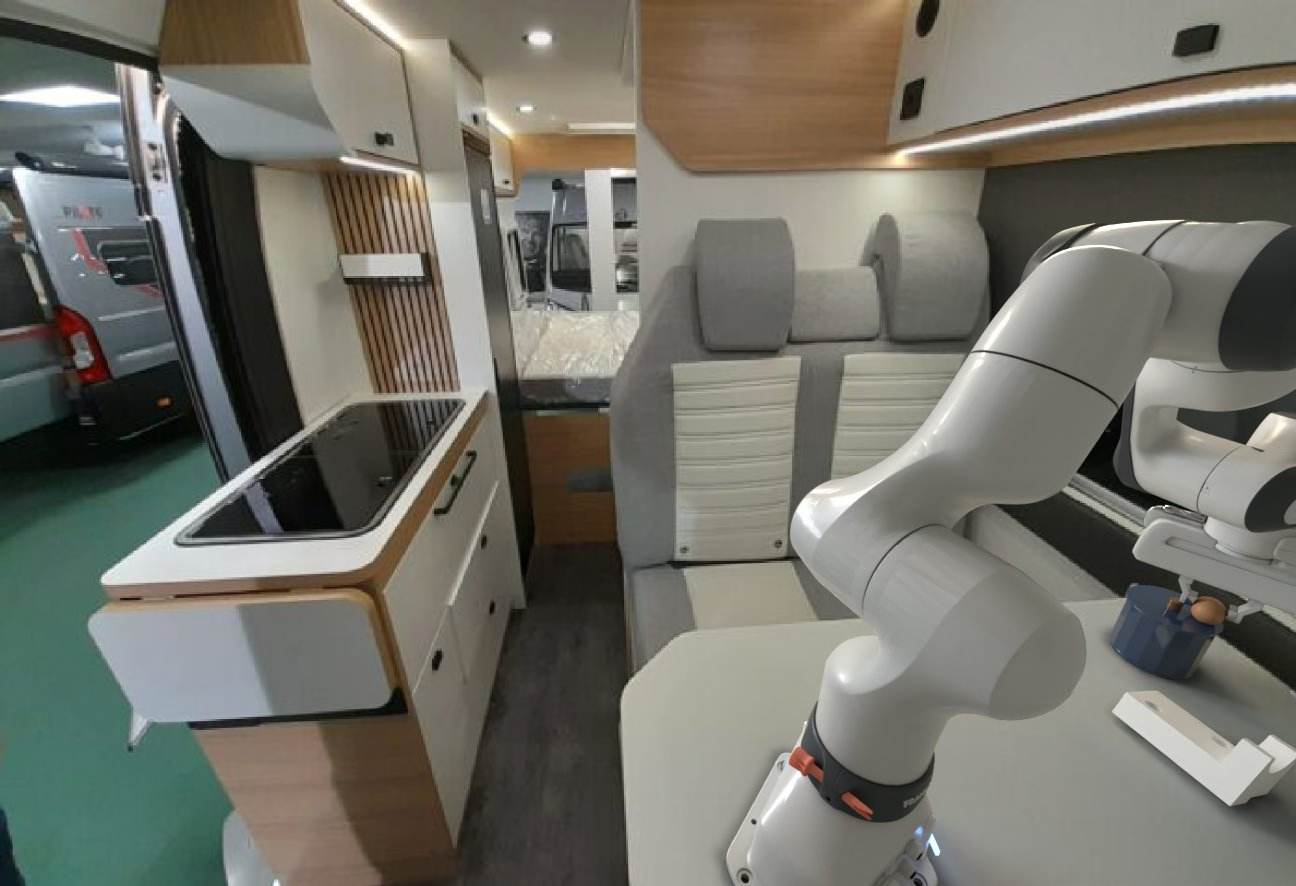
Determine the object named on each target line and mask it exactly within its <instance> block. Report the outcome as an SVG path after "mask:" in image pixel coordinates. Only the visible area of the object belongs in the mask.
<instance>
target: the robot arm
mask: <svg viewBox="0 0 1296 886" xmlns="http://www.w3.org/2000/svg"><path fill="white" fill-rule="evenodd" d="M1295 390H1296V224H1295V225H1291V224H1288V223H1283V222H1278V221H1273V220H1247V221H1241V222H1240V221H1239V222H1216V221H1213V222H1212V221H1197V220H1194V219H1168V220H1167V219H1166V220H1165V219H1163V220H1147V221H1135V222H1125V223H1124V222H1123V223H1117V224H1110V223H1108V222H1095V223H1094V222H1093V223H1088V224H1083V225H1078V226H1074V227H1070V228H1067V229H1064V230H1062V231H1059V232H1057V233H1056V234H1055V235H1053V236H1052V237H1050V238H1049V239H1048V240H1047V241H1045V242H1044V243H1043V244H1042V245H1041V246H1040V247H1039V248H1038V249H1037V250H1036V251H1035V252H1034V253H1033V255H1031V257H1030V258H1029V259H1028V262H1027V264H1026V265H1025V268H1024V270H1023V272H1022V275H1021V278H1020V281H1019V286H1018V287H1017V289H1015V291H1014V292H1013V293H1012V294H1011V296H1009V298H1008V299H1007V300H1006V302H1005V303H1004V304H1003V305H1002V307H1001V308H1000V310H999V311H998V312H997V313H996V314H995V316H994V317H993V318H992V320H991V321H990V323H989V324H988V325H987V327H986V328H985V329H984V331H983V333H982V334H981V335H980V337H979V338H978V340H977V341H976V343H975V344H974V345H973V347H972V349H971V350H970V353H969V354H968V356H967V357H966V358H965V360H964V362H963V364H962V365H961V367H960V368H959V370H958V372H957V373H956V375H955V377H954V378H953V379H952V381H951V382H950V384H949V386H948V387H947V389H946V391H945V392H944V394H943V395H942V396H941V398H940V399H939V401H938V402H937V404H936V405H935V407H934V408H933V409H932V411H931V413H930V414H929V415H928V416H927V417H926V419H925V421H924V422H923V423H922V424H921V426H920V427H919V428H918V430H916V432H915V433H914V434H913V435H912V436H911V437H910V438H909V439H908V440H907V441H906V442H905V443H904V444H902V446H901V447H899V448H898V449H896V451H894V452H893V453H892V454H890V455H889V456H887V457H886V458H885V459H883V460H881V461H880V462H879V463H877V464H875V465H874V466H871V467H870V468H868V469H865V470H864V471H861V472H859V473H857V474H852V475H850V476H846V477H839V478H834V479H830V480H827V481H825V482H822V483H820V484H819V485H817V486H816V487H814V488H813V489H811V490H810V491H809V492H808V493H807V494H806V495H805V496H804V497H803V498H802V499H801V500H800V502H799V504H798V505H797V507H796V509H795V511H794V513H793V516H792V518H791V523H790V528H789V529H790V530H789V539H790V543H791V546H792V548H793V550H794V551H795V553H796V554H797V555H798V557H799V559H800V560H801V561H802V562H803V564H804V565H805V567H806V568H807V570H809V572H810V573H811V574H812V576H813V577H814V578H815V579H816V581H817V582H818V583H819V584H820V585H821V586H823V587H824V588H825V589H826V590H827V591H828V592H830V593H831V594H832V595H833V596H834V597H836V598H837V599H838V600H839V601H840V602H841V603H842V604H843V605H845V606H846V607H847V608H848V609H849V610H850V611H852V612H853V613H854V614H855V615H856V616H857V617H859V618H860V619H861V620H862V621H863V622H865V623H866V625H867V626H868V627H869V628H870V629H871V630H872V632H873V633H874V634H875V635H873V634H871V635H870V634H868V635H859V636H853V637H851V638H848V639H846V640H844V641H843V642H841V643H840V644H839V645H838V646H836V647H835V648H834V649H833V651H832V652H831V653H830V654H829V656H828V657H827V659H826V662H825V665H824V670H823V674H822V675H823V676H822V681H821V685H820V690H819V694H818V695H819V696H818V699H817V701H816V702H815V704H814V706H813V708H812V709H811V712H810V713H809V716H808V719H807V720H806V721H804V722H803V728H802V732H801V733H800V735H799V737H798V739H797V742H796V744H795V745H794V747H793V749H792V751H791V752H783V753H781V754H779V756H778V757H777V759H776V761H775V763H774V764H773V767H772V768H771V770H770V772H769V773H768V776H767V778H766V779H765V781H764V783H763V785H762V787H761V788H760V791H759V792H758V794H757V795H756V798H755V800H754V801H753V803H752V805H751V806H750V809H749V810H748V813H747V814H746V816H745V818H744V819H743V822H742V823H741V825H740V827H739V829H738V831H737V833H736V834H735V836H734V838H733V840H732V842H731V844H730V846H729V847H728V850H727V853H726V856H725V864H726V867H727V871H728V873H729V874H728V875H729V876H730V879H731V881H732V883H733V886H917V885H916V884H915V883H917V884H918V885H919V886H938V881H939V880H938V876H937V873H936V870H935V869H934V866H933V864H932V862H931V861H930V859H929V857H928V854H927V852H928V849H929V845H930V846H931V848H932V851H933V853H934V855H935V856H940V853H941V850H940V848H939V846H938V843H937V841H936V839H935V837H934V835H933V831H934V828H935V824H936V816H935V813H934V810H933V807H932V806H931V803H930V799H929V797H928V793H927V790H928V789H929V787H930V785H931V782H932V780H933V776H934V771H935V770H934V769H935V761H936V754H935V749H936V747H937V744H938V742H939V740H940V737H941V735H942V733H943V731H944V730H945V727H946V724H948V721H950V720H951V718H954V717H955V716H958V715H963V714H966V715H967V714H969V715H970V714H971V715H977V716H983V717H986V718H989V719H993V720H996V721H1007V722H1010V721H1011V722H1013V721H1025V720H1030V719H1035V718H1037V717H1040V716H1043V715H1046V714H1048V713H1050V712H1053V710H1055V709H1057V708H1059V707H1060V706H1062V705H1063V703H1064V702H1066V701H1067V700H1068V699H1069V698H1070V697H1071V696H1072V695H1073V693H1074V692H1075V691H1076V689H1078V686H1079V684H1080V682H1081V680H1082V678H1083V675H1084V671H1085V668H1086V662H1087V641H1086V636H1085V632H1084V628H1083V626H1082V622H1081V620H1080V619H1079V617H1078V616H1077V615H1076V614H1075V613H1074V612H1073V611H1072V610H1070V609H1069V608H1068V607H1067V606H1065V605H1064V603H1062V602H1061V601H1060V600H1058V598H1056V597H1055V596H1054V595H1053V594H1052V593H1050V592H1049V591H1048V590H1047V589H1046V588H1044V587H1043V586H1042V585H1040V584H1039V583H1038V582H1037V581H1036V580H1034V579H1033V578H1032V577H1031V576H1030V575H1028V574H1027V573H1025V571H1024V570H1021V569H1020V568H1019V567H1017V566H1015V565H1013V564H1011V563H1010V562H1008V561H1006V560H1004V559H1003V558H1001V557H1000V556H997V555H996V554H994V553H992V552H990V551H988V550H986V549H985V548H983V547H982V546H980V545H978V544H977V543H975V542H973V541H972V540H969V539H968V538H966V537H964V536H962V535H960V534H959V533H957V532H955V531H953V528H954V526H955V525H956V524H957V523H958V522H959V521H960V520H961V519H962V518H963V517H964V516H965V515H967V514H968V513H969V512H971V511H973V510H975V509H977V508H979V507H982V506H985V505H990V504H995V505H996V504H997V505H1029V504H1034V503H1038V502H1041V501H1044V500H1047V499H1049V498H1051V497H1053V496H1055V495H1057V494H1058V493H1060V492H1062V491H1063V490H1064V489H1065V488H1066V487H1067V486H1068V485H1069V483H1070V482H1071V480H1072V479H1073V478H1074V476H1075V475H1076V473H1077V472H1078V470H1079V469H1080V467H1082V464H1083V463H1084V461H1085V459H1086V458H1087V457H1088V456H1089V454H1090V453H1091V451H1092V449H1093V448H1094V447H1095V446H1096V443H1097V442H1098V441H1099V440H1100V438H1101V436H1102V434H1103V433H1104V431H1105V430H1106V428H1107V427H1108V426H1109V424H1110V423H1111V421H1112V420H1113V418H1114V417H1115V415H1116V414H1117V413H1118V411H1119V410H1120V408H1121V406H1122V405H1123V410H1122V420H1121V429H1120V430H1121V431H1120V436H1119V437H1120V438H1119V440H1118V442H1117V446H1116V448H1115V451H1114V454H1113V457H1112V458H1113V459H1112V464H1113V468H1114V471H1115V474H1116V476H1117V477H1118V479H1119V481H1120V482H1121V483H1122V484H1123V486H1126V487H1128V488H1131V489H1134V490H1137V491H1140V492H1142V493H1146V494H1149V495H1153V496H1156V497H1159V498H1161V499H1163V500H1166V501H1169V502H1171V503H1174V504H1176V505H1179V506H1181V507H1184V508H1186V509H1188V510H1185V509H1182V508H1179V507H1177V506H1173V505H1169V504H1164V505H1155V506H1152V507H1150V508H1148V509H1147V510H1146V512H1145V515H1144V516H1143V518H1142V524H1143V526H1144V529H1143V530H1142V532H1141V533H1140V535H1139V537H1138V538H1137V540H1136V542H1135V544H1134V546H1133V548H1132V554H1133V556H1134V558H1135V559H1136V560H1138V561H1140V562H1143V563H1145V564H1148V565H1152V566H1154V567H1157V568H1160V569H1164V570H1166V571H1168V572H1171V573H1173V574H1177V575H1179V577H1178V583H1179V586H1180V589H1181V594H1182V595H1181V597H1180V600H1179V602H1181V603H1184V604H1187V605H1190V606H1193V605H1194V602H1195V601H1196V599H1197V598H1199V592H1198V591H1196V590H1194V589H1192V588H1191V585H1193V582H1194V581H1196V582H1197V581H1198V582H1200V583H1203V584H1206V585H1209V586H1211V587H1214V588H1217V589H1220V590H1222V591H1226V592H1228V593H1231V594H1234V595H1237V596H1240V597H1243V598H1246V599H1247V602H1246V603H1244V604H1241V605H1238V606H1237V605H1234V604H1229V606H1228V607H1227V609H1226V615H1225V619H1224V620H1228V621H1229V622H1232V623H1235V624H1237V625H1239V624H1241V622H1242V620H1243V618H1244V617H1245V616H1249V615H1252V614H1254V613H1258V612H1261V611H1262V610H1263V608H1264V607H1265V606H1268V607H1271V608H1275V609H1277V610H1280V611H1282V612H1286V613H1288V614H1291V615H1294V616H1296V412H1289V411H1277V412H1270V413H1269V414H1268V415H1267V416H1266V417H1265V418H1264V419H1263V420H1262V422H1261V423H1260V424H1259V425H1258V427H1257V428H1256V429H1255V431H1254V432H1253V434H1252V435H1251V437H1249V439H1248V441H1247V442H1246V444H1243V443H1240V442H1236V441H1233V440H1230V439H1227V438H1223V437H1220V436H1217V435H1213V434H1211V433H1208V432H1203V431H1200V430H1198V429H1195V428H1192V427H1190V426H1188V425H1186V424H1184V423H1183V422H1181V421H1179V420H1178V419H1177V418H1178V413H1179V408H1180V409H1189V410H1196V411H1202V412H1203V411H1205V412H1231V411H1232V412H1233V411H1240V410H1245V409H1246V410H1247V409H1250V408H1255V407H1258V406H1261V405H1264V404H1268V403H1270V402H1274V401H1276V400H1278V399H1280V398H1282V397H1284V396H1286V395H1289V394H1290V393H1291V392H1293V391H1295ZM742 879H746V880H747V882H746V883H745V882H744V881H743V880H742Z"/></svg>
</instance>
